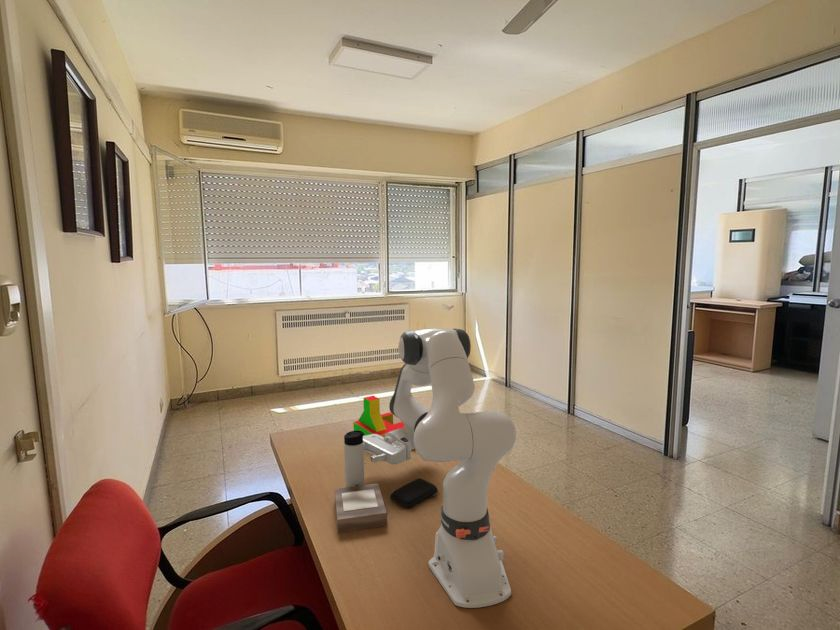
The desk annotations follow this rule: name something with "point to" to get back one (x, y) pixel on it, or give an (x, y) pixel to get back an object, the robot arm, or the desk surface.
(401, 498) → the carrying case or bag
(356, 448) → the travel mug
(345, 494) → the walnut riser
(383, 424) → the building blocks toy
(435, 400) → the robot arm
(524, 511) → the desk surface
